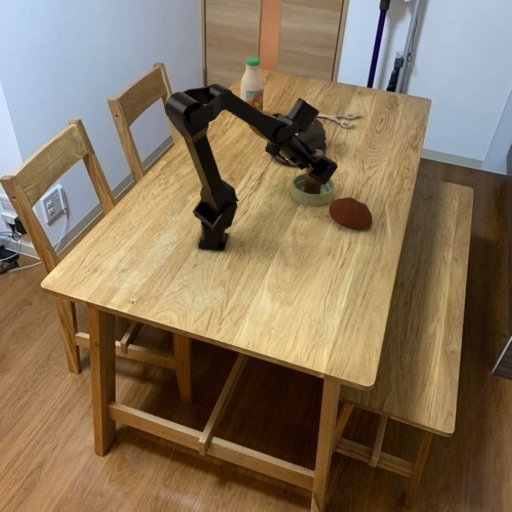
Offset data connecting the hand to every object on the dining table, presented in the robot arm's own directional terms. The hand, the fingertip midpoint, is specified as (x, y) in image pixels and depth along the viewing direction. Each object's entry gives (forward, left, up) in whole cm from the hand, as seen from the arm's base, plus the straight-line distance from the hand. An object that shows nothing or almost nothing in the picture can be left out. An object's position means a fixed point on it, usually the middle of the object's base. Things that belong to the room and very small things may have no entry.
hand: (318, 171), depth 142 cm
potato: (-13, -9, -7) cm, 17 cm away
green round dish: (-1, +1, -7) cm, 7 cm away
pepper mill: (-1, +1, -7) cm, 7 cm away
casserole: (+24, +7, -7) cm, 26 cm away
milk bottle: (+44, +24, -7) cm, 51 cm away
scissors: (+48, -3, -7) cm, 49 cm away
